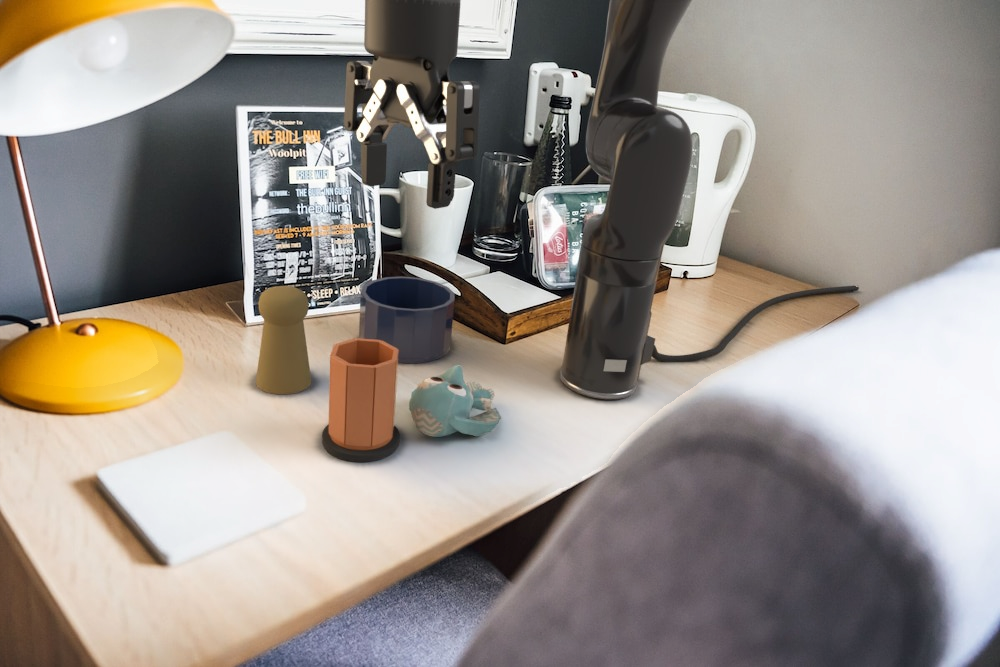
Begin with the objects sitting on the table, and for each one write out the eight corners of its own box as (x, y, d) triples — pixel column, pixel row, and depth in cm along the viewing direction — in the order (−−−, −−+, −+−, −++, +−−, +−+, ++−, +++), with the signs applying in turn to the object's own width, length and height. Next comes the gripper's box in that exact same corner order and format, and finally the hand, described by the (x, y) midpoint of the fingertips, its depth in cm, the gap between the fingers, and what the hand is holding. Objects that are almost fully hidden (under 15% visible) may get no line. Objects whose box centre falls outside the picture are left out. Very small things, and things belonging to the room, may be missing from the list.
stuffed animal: (533, 371, 83) (476, 390, 73) (519, 432, 85) (461, 459, 74) (452, 341, 88) (387, 355, 78) (440, 399, 90) (375, 421, 79)
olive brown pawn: (297, 398, 83) (297, 304, 79) (245, 388, 84) (243, 294, 80) (320, 375, 89) (322, 285, 84) (271, 365, 89) (270, 276, 85)
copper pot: (366, 411, 81) (370, 333, 77) (405, 436, 77) (411, 355, 73) (317, 430, 76) (318, 348, 73) (356, 458, 73) (359, 372, 69)
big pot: (408, 318, 107) (412, 271, 104) (468, 348, 100) (473, 298, 97) (340, 338, 98) (342, 287, 96) (400, 371, 92) (404, 317, 89)
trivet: (367, 414, 82) (367, 407, 81) (415, 444, 77) (415, 437, 77) (306, 437, 76) (306, 430, 76) (354, 471, 72) (354, 464, 72)
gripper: (511, 4, 59) (493, 209, 66) (391, -10, 68) (385, 174, 74) (441, -2, 54) (428, 221, 61) (320, -16, 62) (320, 182, 69)
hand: (404, 195), depth 67 cm, fingers open, 8 cm apart
